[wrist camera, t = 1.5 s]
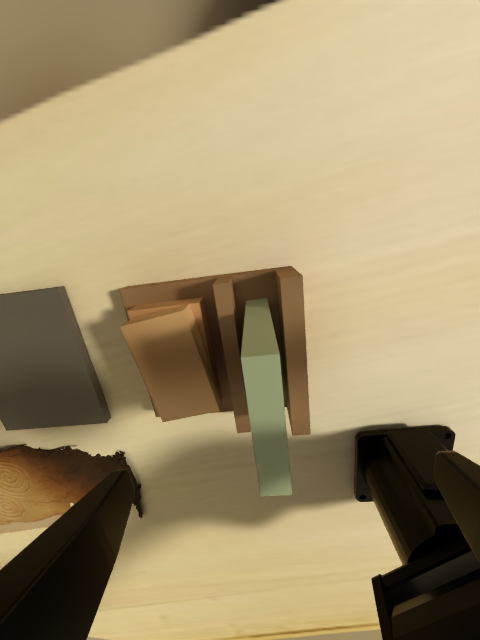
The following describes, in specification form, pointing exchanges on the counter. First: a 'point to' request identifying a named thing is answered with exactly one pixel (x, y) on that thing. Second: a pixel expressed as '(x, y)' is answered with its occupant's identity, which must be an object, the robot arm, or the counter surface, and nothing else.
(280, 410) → the block
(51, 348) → the mat
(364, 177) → the counter surface
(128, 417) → the counter surface
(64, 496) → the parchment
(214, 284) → the rack
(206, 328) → the offcut lower
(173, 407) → the offcut upper
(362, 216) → the counter surface
